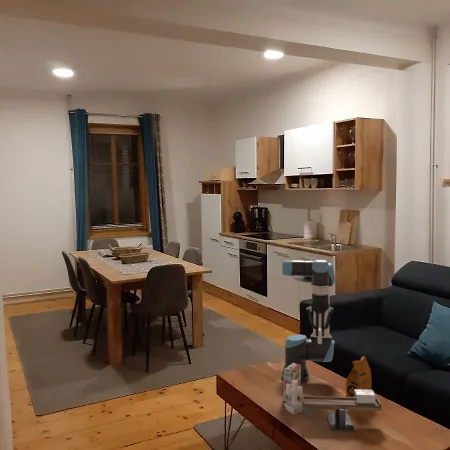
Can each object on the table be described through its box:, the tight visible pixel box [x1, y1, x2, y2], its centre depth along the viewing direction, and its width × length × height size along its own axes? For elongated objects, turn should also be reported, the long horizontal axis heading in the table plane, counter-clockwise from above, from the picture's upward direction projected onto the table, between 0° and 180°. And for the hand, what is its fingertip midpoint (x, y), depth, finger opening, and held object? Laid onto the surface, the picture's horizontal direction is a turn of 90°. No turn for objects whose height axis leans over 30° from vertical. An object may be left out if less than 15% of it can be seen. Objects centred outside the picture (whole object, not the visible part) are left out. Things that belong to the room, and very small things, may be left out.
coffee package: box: [345, 355, 373, 397], centre depth 230 cm, size 10×12×22 cm
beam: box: [300, 394, 383, 416], centre depth 210 cm, size 9×34×6 cm, turn 86°
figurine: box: [283, 380, 304, 415], centre depth 222 cm, size 7×9×15 cm
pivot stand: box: [325, 408, 356, 432], centre depth 211 cm, size 14×10×9 cm
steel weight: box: [354, 389, 376, 405], centre depth 209 cm, size 6×8×5 cm
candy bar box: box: [282, 363, 302, 403], centre depth 235 cm, size 11×5×16 cm, turn 147°
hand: (319, 342), depth 221 cm, fingers closed
